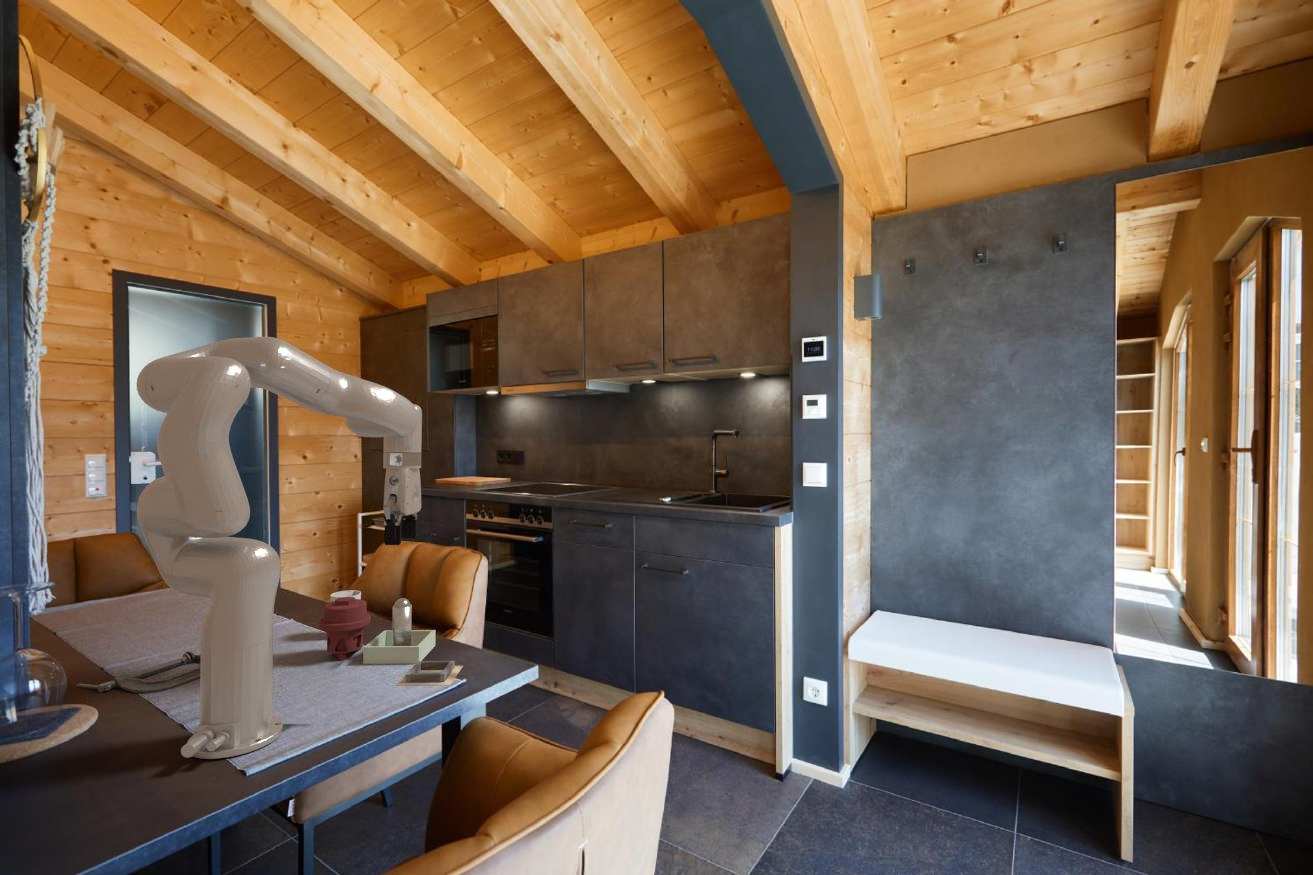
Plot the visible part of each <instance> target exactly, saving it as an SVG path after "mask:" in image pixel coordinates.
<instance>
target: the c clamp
mask: <svg viewBox="0 0 1313 875" xmlns="http://www.w3.org/2000/svg"><path fill="white" fill-rule="evenodd" d="M196 662H197V663H200V654H194V652H192V651H186V652H184V654H183V655H182V657H181V658H178V659H175V660H172V661H168V662H166V663H162V664H159V665H156V666H152V667H150V668H146V669H144V670H140V671H138V672H134V673H131V674H129V675H128V674H122V675H118V676H115V677H113V678H112V679H111V680H110V681H107V682H106V681H105V682H103V683H100V684H89V683H88V684H86V683H77V684H76V685H75V687H76V688H82V689H92V690H97V691H98V692H99V693H103V692H106V691H111V689H115V688H117V689H119V688H121V689H122V690H124V691H127V692H129V693H130V692H131V693H136V694H153V693H158V692H163V691H168V690H172V689H175V688H177V687H180V686H182V685H185V684H188V683H190V682H193V681H196V680H198V679H199V680H200V666H199V667H196V668H194V669H191V670H187V671H185V672H182V673H179V674H176V675H174V676H171V677H168V678H164V679H159V680H146V679H143V678H146V677H149V676H153V675H155V674H158V673H162V672H164V671H168V670H170V669H173V668H177V667H179V666H181V665H191V664H193V663H196Z"/></svg>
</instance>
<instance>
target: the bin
mask: <svg viewBox="0 0 1313 875" xmlns="http://www.w3.org/2000/svg"><path fill="white" fill-rule="evenodd" d="M436 632H437V631H436V629H433V630H432V629H425V630H424V629H419V630H418V629H416V630H415V629H414V630H413V629H411V645H413V646H392V629H391V630H383V631H382V632H381V633H380V634H378V635H377V636H376V637H374V638H373V639H372V640H371V641H369V642H368V643H367V644H366V645H365V646H363V647H362V648H363V651H362V652H363V653H362V654H363V657H362V658H363V659H362V660H363V662H362V663H363V665H410V664H411V665H415V664H416V663H417V662H418V661H424V660H423V659H425V657H426V656H427V655H428V654H429V653H430V652H431V651H432V650H433V649H435V648H434V647H436Z"/></svg>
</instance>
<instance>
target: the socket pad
mask: <svg viewBox="0 0 1313 875" xmlns="http://www.w3.org/2000/svg"><path fill="white" fill-rule="evenodd" d="M455 662H456V661H455V660H422V661H418V662H417V663H416V664H413V666H412V667H411V668H410V669H409V671H407V673H405V675H404V676H403V677H402V678H401V679H400V680H399V681H398V682H397V683H396V685H395V686H396V687H397V686H398V687H403V686H404V687H405V686H406V687H408V686H409V687H410V686H415V687H416V686H451V685H452V682H453V681H454V680H455V678H456V677H457V676H458V674H459V673H460V671H461V670H462V668H463V667H464V665H456V663H455Z"/></svg>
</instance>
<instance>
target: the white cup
mask: <svg viewBox="0 0 1313 875" xmlns="http://www.w3.org/2000/svg"><path fill="white" fill-rule="evenodd" d="M342 597H354V598H355V599H361V600H362V598H361V597H362V592H361V590H354V589H353V590H352V589H349V590H341V591H336V592H333V593H331V594H330V602H333V601H335V600H336V599H338V598H342Z"/></svg>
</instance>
